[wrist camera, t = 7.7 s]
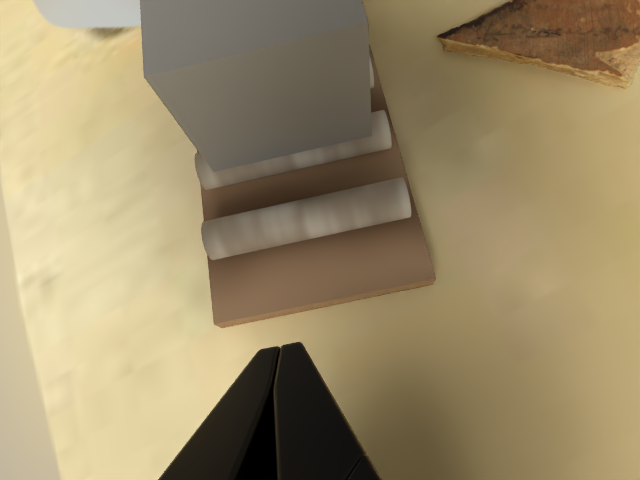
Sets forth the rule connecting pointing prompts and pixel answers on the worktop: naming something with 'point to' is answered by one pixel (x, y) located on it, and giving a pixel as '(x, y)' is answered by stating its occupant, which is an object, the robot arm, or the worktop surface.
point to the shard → (558, 37)
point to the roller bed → (320, 254)
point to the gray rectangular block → (259, 74)
